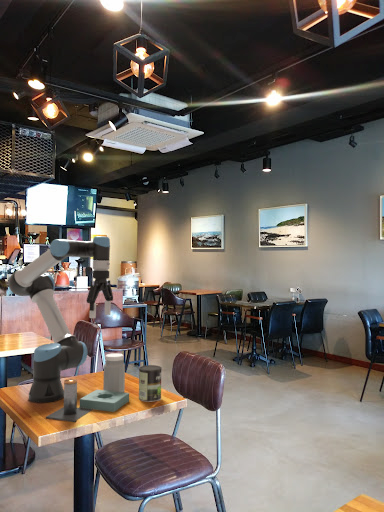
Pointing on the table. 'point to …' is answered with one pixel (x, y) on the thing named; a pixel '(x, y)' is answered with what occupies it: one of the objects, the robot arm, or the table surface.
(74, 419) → the mat
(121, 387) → the jar
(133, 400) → the table surface
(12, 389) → the table surface
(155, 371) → the coffee can
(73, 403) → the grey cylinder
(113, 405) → the block
